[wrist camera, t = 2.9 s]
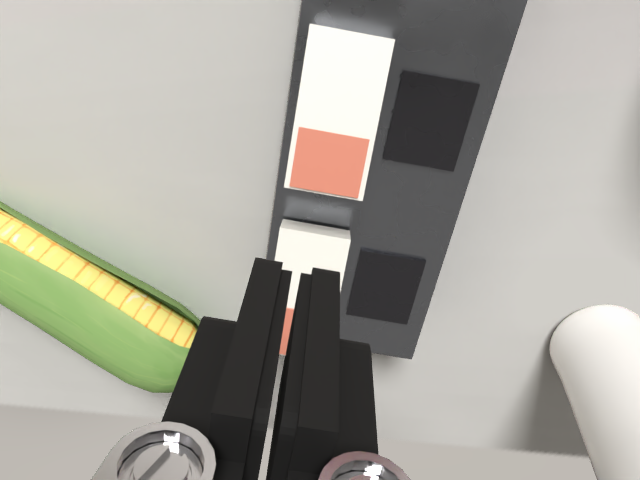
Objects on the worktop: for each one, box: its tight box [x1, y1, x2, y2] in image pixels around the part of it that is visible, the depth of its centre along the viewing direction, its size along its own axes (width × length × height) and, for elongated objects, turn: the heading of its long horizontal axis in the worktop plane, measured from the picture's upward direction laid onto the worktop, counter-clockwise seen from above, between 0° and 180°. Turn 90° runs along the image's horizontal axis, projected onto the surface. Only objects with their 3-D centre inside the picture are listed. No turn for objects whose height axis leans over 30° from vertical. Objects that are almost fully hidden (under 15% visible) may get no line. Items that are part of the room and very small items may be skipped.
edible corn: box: [0, 202, 200, 393], centre depth 28 cm, size 5×20×5 cm
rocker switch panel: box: [266, 0, 527, 359], centre depth 23 cm, size 8×24×4 cm, turn 171°
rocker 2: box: [275, 219, 351, 356], centre depth 24 cm, size 3×6×2 cm, turn 170°
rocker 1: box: [284, 24, 395, 201], centre depth 20 cm, size 3×6×2 cm, turn 171°
